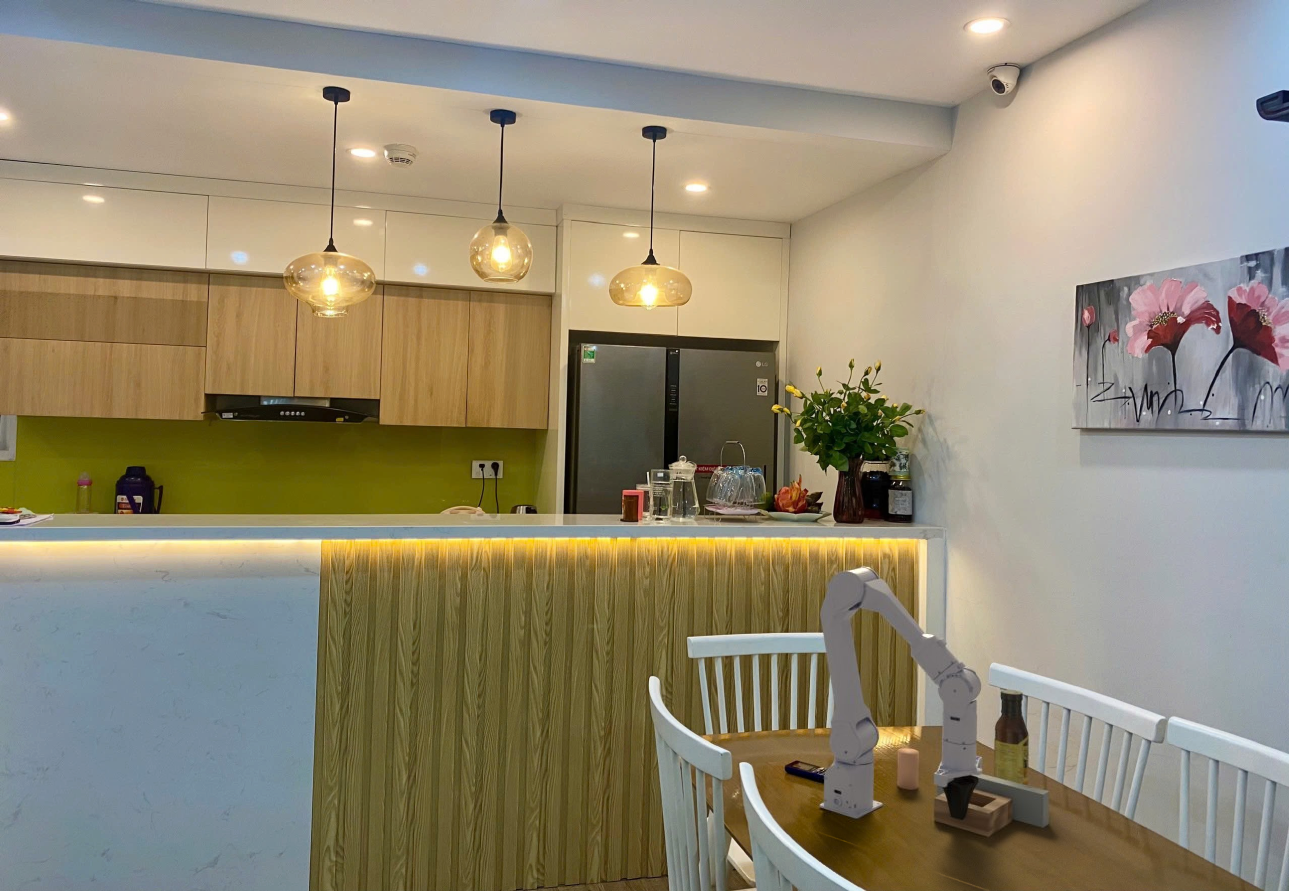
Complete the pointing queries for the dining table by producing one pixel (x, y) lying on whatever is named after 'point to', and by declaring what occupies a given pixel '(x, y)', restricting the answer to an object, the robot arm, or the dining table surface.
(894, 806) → the dining table surface
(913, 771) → the dowel
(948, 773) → the robot arm
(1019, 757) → the sauce bottle
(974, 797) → the socket block
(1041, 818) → the backstop
